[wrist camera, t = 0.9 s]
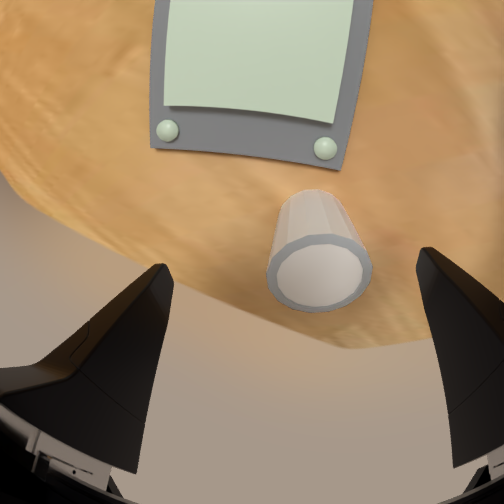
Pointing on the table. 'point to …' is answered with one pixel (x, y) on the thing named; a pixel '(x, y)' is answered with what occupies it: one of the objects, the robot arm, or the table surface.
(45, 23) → the table surface
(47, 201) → the table surface
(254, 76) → the baseplate
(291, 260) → the shot glass
